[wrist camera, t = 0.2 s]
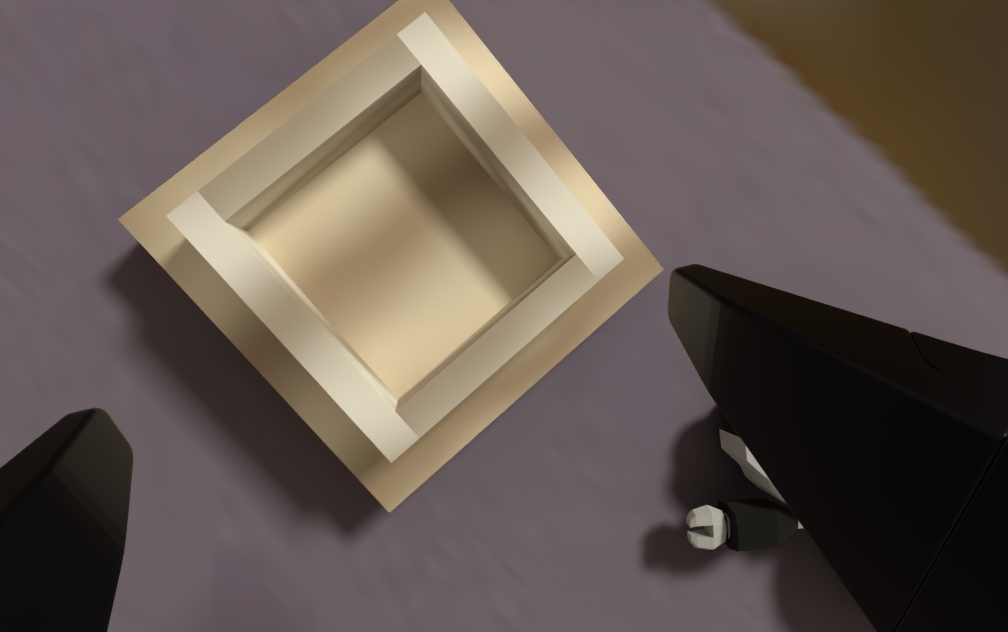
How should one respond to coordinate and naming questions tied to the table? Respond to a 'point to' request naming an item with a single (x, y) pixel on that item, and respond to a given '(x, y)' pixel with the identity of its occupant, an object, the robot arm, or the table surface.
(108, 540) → the robot arm
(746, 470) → the robot toy
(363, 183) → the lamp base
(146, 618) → the table surface
